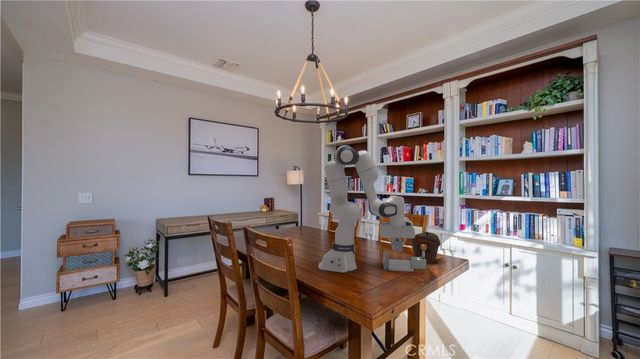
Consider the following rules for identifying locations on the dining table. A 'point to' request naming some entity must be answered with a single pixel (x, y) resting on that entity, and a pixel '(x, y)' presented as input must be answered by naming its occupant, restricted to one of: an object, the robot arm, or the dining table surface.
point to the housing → (397, 245)
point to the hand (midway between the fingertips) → (397, 245)
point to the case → (431, 246)
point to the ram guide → (418, 263)
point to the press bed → (396, 264)
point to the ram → (423, 248)
